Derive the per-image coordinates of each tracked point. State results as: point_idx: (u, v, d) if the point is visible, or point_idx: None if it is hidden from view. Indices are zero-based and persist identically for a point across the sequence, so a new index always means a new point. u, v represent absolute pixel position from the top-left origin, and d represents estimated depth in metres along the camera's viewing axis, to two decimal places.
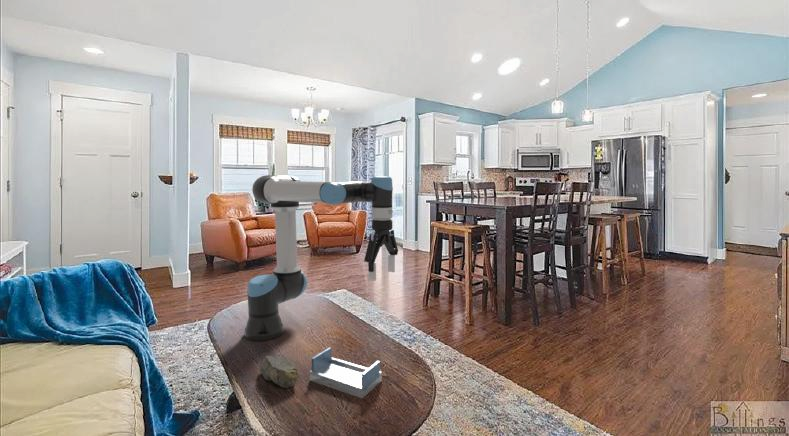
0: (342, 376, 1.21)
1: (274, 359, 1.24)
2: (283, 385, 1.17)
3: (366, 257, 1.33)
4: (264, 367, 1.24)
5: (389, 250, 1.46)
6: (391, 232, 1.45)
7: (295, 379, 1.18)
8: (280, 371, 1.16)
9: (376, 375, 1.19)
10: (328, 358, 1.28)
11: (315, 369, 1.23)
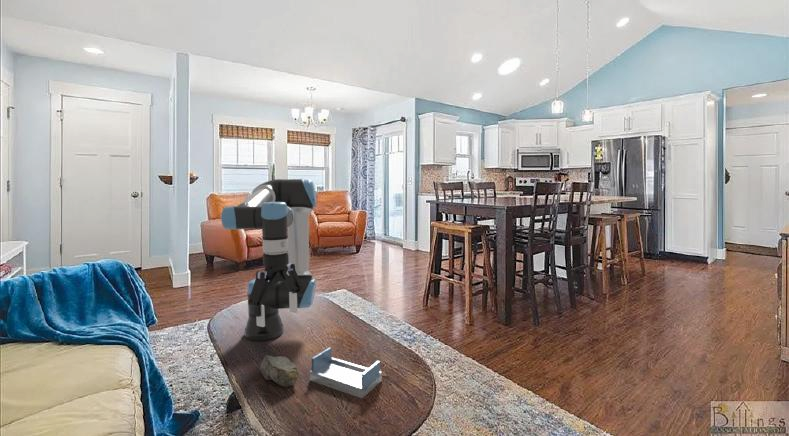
0: (342, 376, 1.21)
1: (274, 358, 1.24)
2: (283, 384, 1.18)
3: (250, 300, 1.12)
4: (264, 366, 1.24)
5: (290, 287, 1.25)
6: (291, 266, 1.23)
7: (295, 378, 1.19)
8: (280, 370, 1.16)
9: (376, 375, 1.19)
10: (328, 358, 1.28)
11: (315, 369, 1.23)
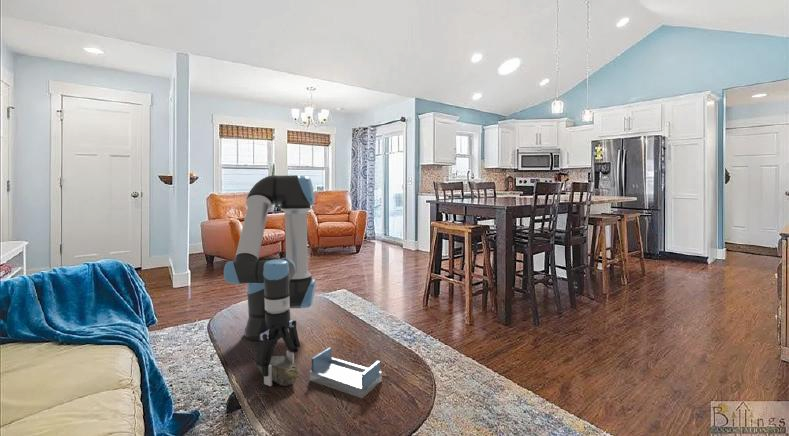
0: (342, 376, 1.21)
1: (273, 358, 1.24)
2: (282, 383, 1.18)
3: (257, 361, 1.15)
4: None
5: (288, 345, 1.26)
6: (292, 323, 1.26)
7: (294, 377, 1.19)
8: (280, 369, 1.17)
9: (376, 375, 1.19)
10: (328, 358, 1.28)
11: (315, 369, 1.23)
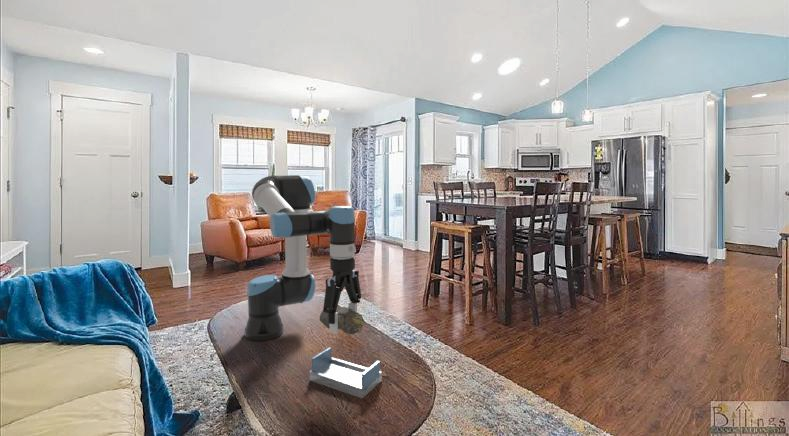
0: (342, 376, 1.21)
1: None
2: (349, 331, 1.15)
3: (325, 308, 1.12)
4: (326, 316, 1.21)
5: (350, 296, 1.23)
6: (355, 273, 1.22)
7: (361, 325, 1.16)
8: (347, 316, 1.13)
9: (376, 375, 1.19)
10: (328, 358, 1.28)
11: (315, 369, 1.23)
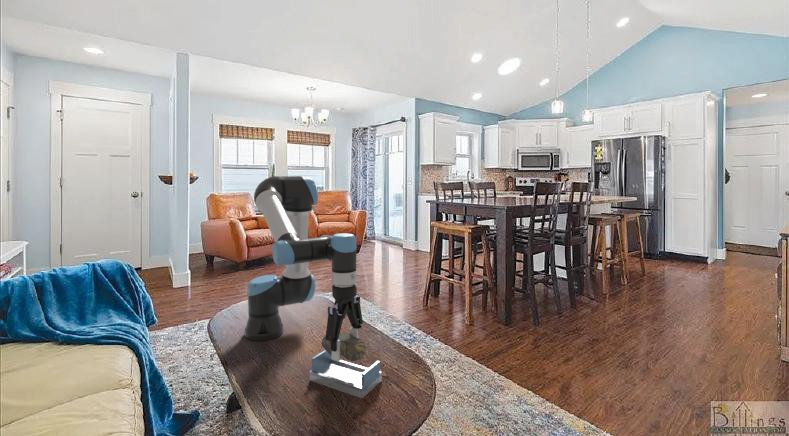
0: (342, 376, 1.21)
1: None
2: (351, 358, 1.16)
3: (327, 336, 1.13)
4: (327, 342, 1.22)
5: (352, 321, 1.24)
6: (356, 299, 1.24)
7: (363, 352, 1.17)
8: (349, 344, 1.14)
9: (376, 375, 1.19)
10: (328, 358, 1.28)
11: (315, 369, 1.23)
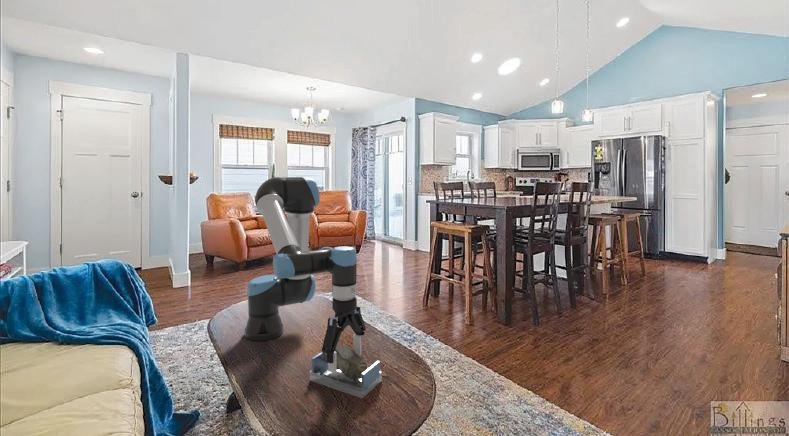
0: (342, 376, 1.21)
1: (341, 348, 1.22)
2: (351, 377, 1.17)
3: (324, 347, 1.12)
4: None
5: (354, 330, 1.25)
6: (357, 309, 1.24)
7: None
8: (352, 364, 1.15)
9: (376, 375, 1.19)
10: None
11: (315, 369, 1.23)
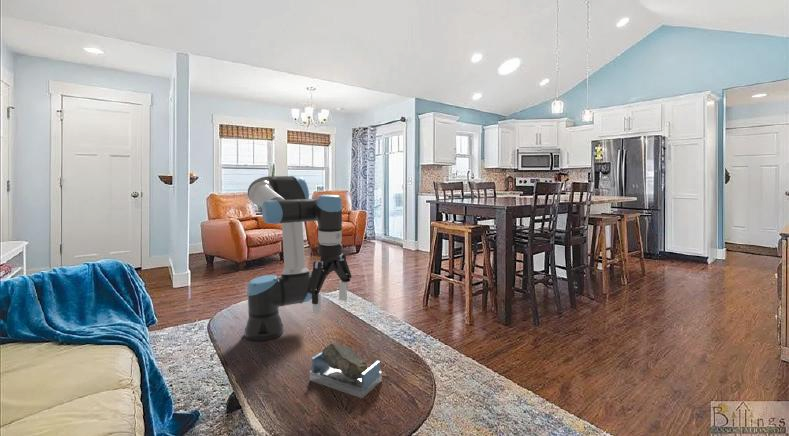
0: (342, 376, 1.21)
1: (341, 348, 1.22)
2: (351, 377, 1.17)
3: (308, 288, 1.17)
4: (329, 354, 1.22)
5: (340, 276, 1.30)
6: (342, 257, 1.29)
7: None
8: (352, 364, 1.15)
9: (376, 375, 1.19)
10: None
11: (315, 369, 1.23)
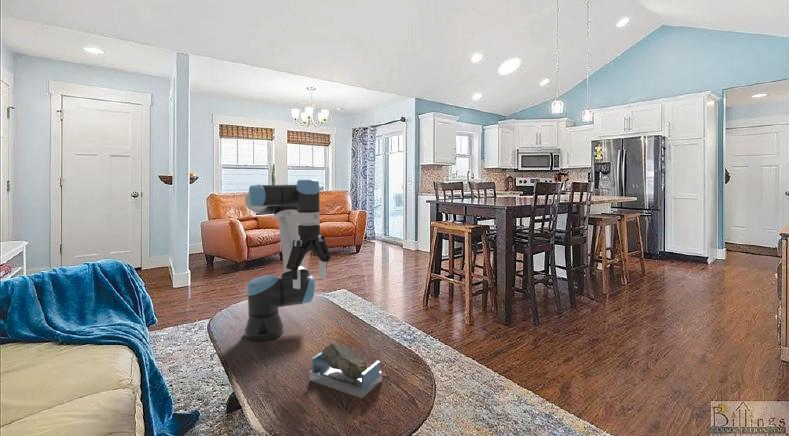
0: (342, 376, 1.21)
1: (341, 348, 1.22)
2: (351, 377, 1.17)
3: (288, 264, 1.27)
4: (329, 354, 1.22)
5: (320, 256, 1.40)
6: (321, 238, 1.39)
7: None
8: (352, 364, 1.15)
9: (376, 375, 1.19)
10: None
11: (315, 369, 1.23)
